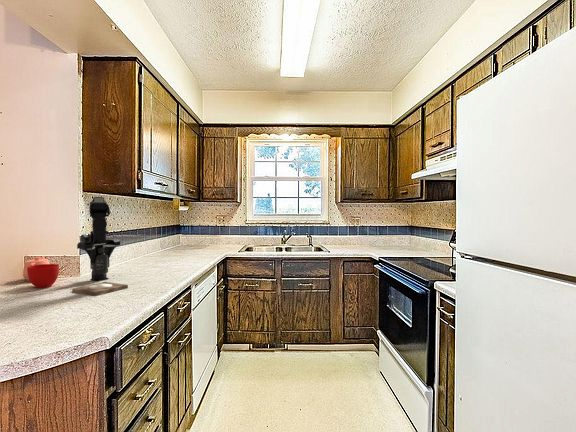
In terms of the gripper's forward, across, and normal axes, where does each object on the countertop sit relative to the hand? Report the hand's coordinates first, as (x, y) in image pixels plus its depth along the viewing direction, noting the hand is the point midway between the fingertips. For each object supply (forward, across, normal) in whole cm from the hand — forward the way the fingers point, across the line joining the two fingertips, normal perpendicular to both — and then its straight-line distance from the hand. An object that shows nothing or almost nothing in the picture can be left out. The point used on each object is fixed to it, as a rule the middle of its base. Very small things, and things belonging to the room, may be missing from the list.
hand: (99, 262), depth 175 cm
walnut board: (+13, 0, 0) cm, 13 cm away
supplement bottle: (+5, 0, 0) cm, 5 cm away
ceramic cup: (+13, +7, -33) cm, 36 cm away
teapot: (+13, -2, -52) cm, 54 cm away
